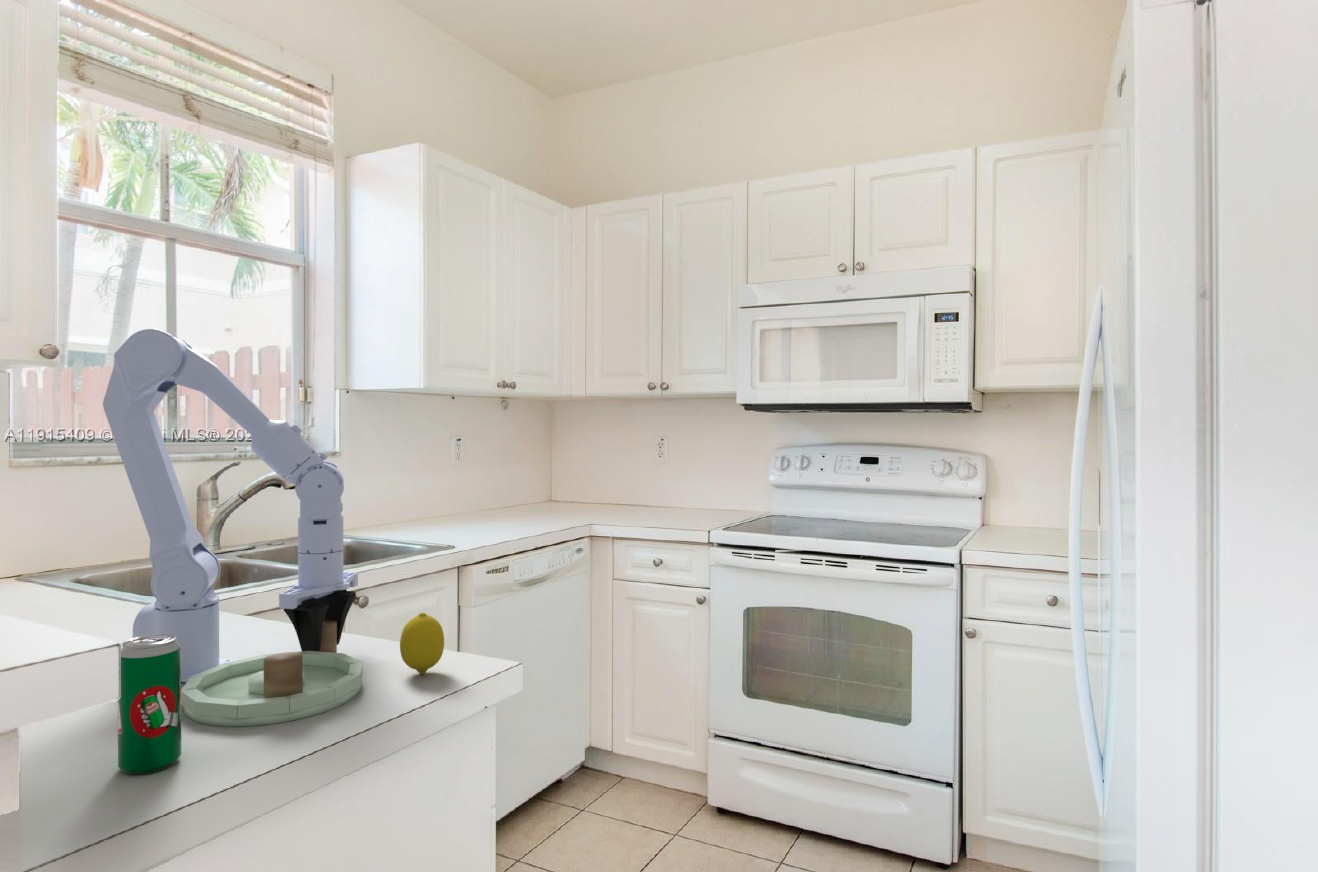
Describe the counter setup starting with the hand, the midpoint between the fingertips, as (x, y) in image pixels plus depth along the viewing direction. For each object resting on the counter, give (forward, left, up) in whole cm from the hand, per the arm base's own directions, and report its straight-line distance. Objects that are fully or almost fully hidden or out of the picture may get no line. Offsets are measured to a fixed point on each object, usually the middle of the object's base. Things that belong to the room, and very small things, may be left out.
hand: (321, 649), depth 106 cm
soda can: (+4, -33, -2) cm, 33 cm away
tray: (+3, -14, -1) cm, 14 cm away
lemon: (+16, -3, -2) cm, 17 cm away
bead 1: (+7, -18, 0) cm, 19 cm away
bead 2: (0, 0, -1) cm, 1 cm away
